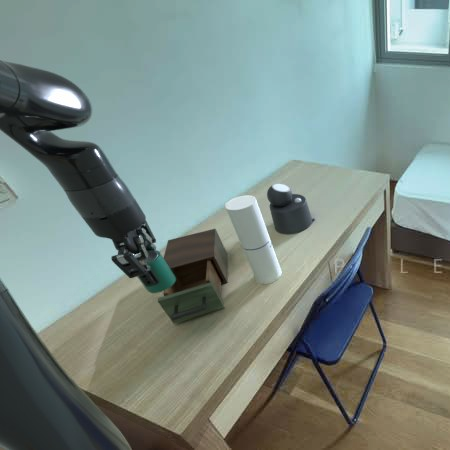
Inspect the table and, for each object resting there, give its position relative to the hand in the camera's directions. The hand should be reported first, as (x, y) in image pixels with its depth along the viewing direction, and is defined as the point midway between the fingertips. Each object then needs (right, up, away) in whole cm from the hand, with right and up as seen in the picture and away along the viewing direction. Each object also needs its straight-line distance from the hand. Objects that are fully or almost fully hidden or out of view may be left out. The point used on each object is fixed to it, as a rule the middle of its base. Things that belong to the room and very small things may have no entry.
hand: (155, 274), depth 63 cm
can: (0, -2, +2) cm, 3 cm away
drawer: (-3, -11, +19) cm, 22 cm away
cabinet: (-9, -5, +29) cm, 31 cm away
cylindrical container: (+11, -5, +28) cm, 31 cm away
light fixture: (+11, +11, +50) cm, 52 cm away
